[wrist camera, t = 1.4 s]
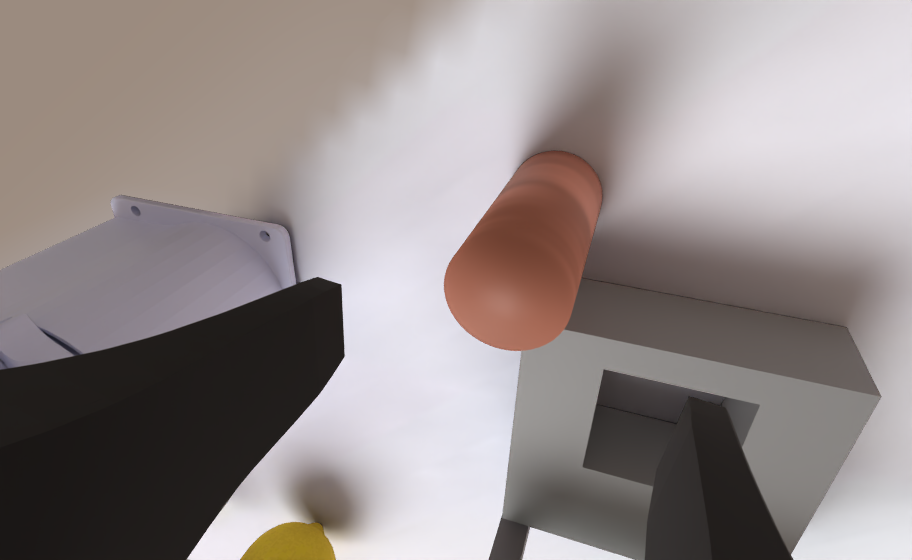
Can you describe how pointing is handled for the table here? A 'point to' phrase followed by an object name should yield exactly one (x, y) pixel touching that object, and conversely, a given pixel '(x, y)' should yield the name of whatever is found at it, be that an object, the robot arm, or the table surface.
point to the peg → (527, 254)
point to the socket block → (645, 439)
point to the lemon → (292, 543)
